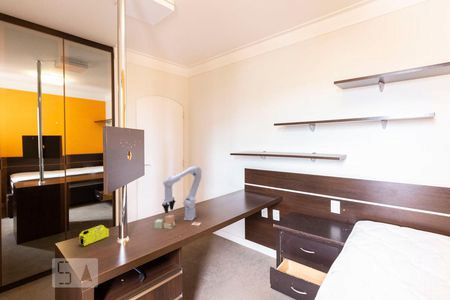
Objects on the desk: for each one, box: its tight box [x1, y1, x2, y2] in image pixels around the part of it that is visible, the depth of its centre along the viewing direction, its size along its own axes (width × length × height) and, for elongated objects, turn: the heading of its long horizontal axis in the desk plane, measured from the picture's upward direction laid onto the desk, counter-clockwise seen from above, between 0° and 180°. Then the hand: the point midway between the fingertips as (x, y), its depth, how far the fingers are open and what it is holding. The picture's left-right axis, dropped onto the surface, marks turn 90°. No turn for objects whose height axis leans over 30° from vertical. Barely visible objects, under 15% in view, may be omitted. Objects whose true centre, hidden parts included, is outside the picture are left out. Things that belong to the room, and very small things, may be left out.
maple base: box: [163, 221, 176, 230], centre depth 165 cm, size 6×6×4 cm
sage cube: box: [154, 218, 165, 229], centre depth 165 cm, size 5×5×5 cm
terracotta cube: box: [164, 214, 175, 224], centre depth 165 cm, size 5×5×5 cm
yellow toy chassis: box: [78, 224, 110, 247], centre depth 143 cm, size 16×6×8 cm, turn 150°
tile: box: [191, 221, 201, 227], centre depth 170 cm, size 5×6×1 cm
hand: (169, 211), depth 172 cm, fingers open, 7 cm apart
